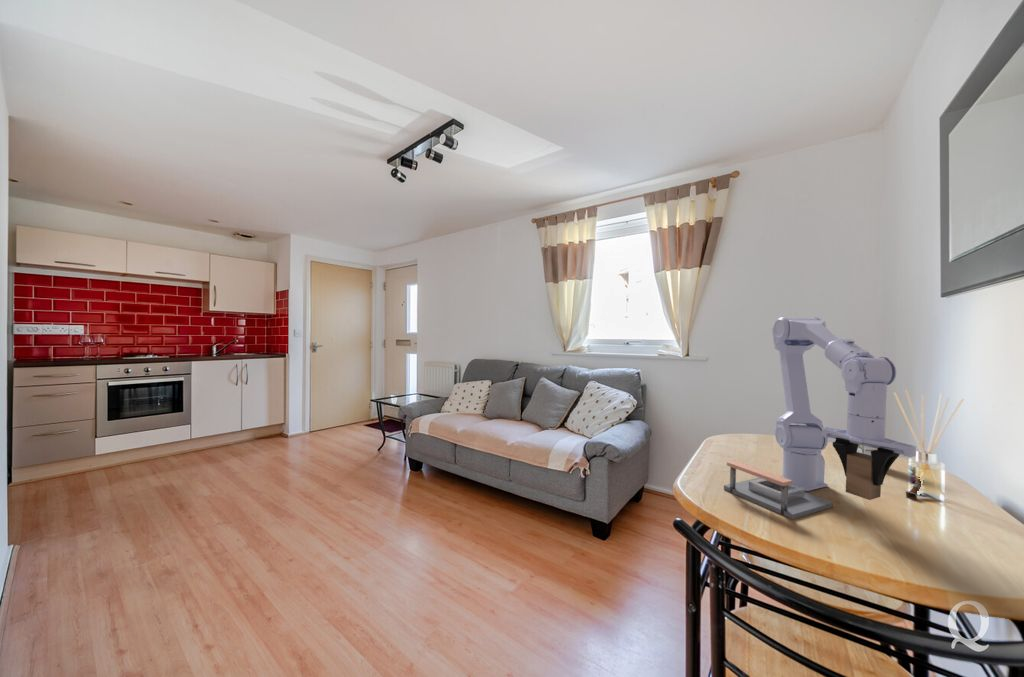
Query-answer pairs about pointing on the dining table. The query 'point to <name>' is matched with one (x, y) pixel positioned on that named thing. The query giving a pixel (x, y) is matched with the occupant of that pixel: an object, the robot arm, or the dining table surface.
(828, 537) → the dining table surface
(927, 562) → the dining table surface
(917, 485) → the brown figurine
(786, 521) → the dining table surface
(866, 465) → the walnut peg
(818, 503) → the socket board
